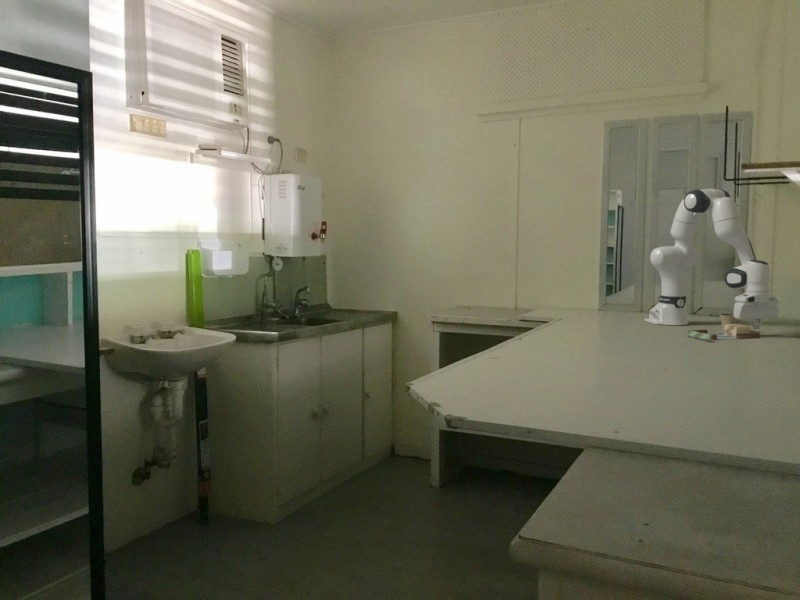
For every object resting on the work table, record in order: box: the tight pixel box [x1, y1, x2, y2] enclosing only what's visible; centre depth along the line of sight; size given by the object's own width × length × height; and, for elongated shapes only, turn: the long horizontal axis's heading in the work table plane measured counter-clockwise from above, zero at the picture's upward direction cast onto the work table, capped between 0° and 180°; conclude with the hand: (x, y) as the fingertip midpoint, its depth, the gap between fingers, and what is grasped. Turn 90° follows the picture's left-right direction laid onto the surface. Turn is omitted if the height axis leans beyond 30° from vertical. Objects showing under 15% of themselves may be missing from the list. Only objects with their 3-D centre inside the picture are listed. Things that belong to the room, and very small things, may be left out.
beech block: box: [723, 323, 752, 337], centre depth 268 cm, size 7×7×4 cm
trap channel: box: [687, 329, 761, 343], centre depth 267 cm, size 14×24×3 cm, turn 103°
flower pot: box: [719, 312, 742, 333], centre depth 280 cm, size 9×9×9 cm
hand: (755, 329), depth 270 cm, fingers closed
